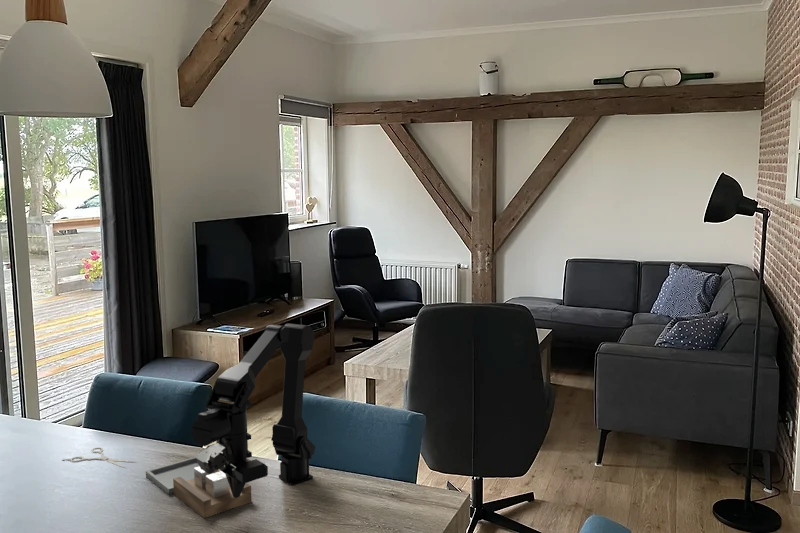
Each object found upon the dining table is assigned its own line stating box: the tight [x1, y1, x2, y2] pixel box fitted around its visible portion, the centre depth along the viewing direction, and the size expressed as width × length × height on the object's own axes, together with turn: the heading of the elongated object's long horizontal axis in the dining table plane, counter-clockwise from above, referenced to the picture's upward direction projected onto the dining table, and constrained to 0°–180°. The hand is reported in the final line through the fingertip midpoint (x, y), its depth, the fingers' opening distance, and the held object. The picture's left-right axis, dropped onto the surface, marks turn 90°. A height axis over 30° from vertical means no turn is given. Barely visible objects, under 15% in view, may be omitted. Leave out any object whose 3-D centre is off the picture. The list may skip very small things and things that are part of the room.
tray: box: [145, 456, 199, 496], centre depth 178 cm, size 14×14×2 cm
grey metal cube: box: [194, 466, 217, 489], centre depth 169 cm, size 4×4×4 cm
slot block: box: [173, 469, 253, 519], centre depth 167 cm, size 12×16×4 cm
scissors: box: [61, 447, 134, 469], centre depth 190 cm, size 11×1×20 cm
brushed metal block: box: [205, 471, 230, 498], centre depth 164 cm, size 4×4×4 cm
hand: (236, 497), depth 158 cm, fingers closed
